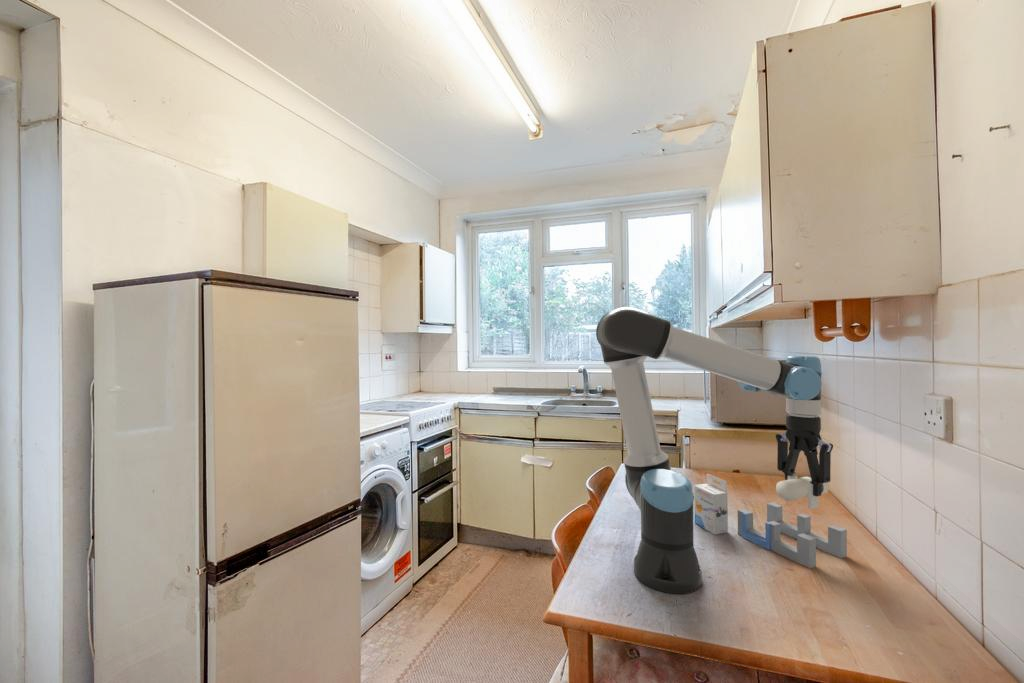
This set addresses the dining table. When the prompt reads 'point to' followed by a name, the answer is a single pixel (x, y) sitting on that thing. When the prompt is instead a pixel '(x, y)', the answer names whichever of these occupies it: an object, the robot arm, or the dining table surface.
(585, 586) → the dining table surface
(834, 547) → the bracket
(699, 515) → the ink box
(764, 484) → the dining table surface
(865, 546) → the dining table surface
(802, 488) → the banded white cylinder
